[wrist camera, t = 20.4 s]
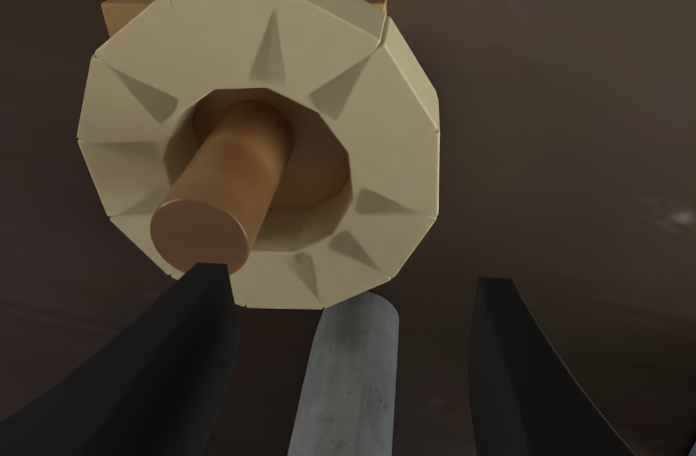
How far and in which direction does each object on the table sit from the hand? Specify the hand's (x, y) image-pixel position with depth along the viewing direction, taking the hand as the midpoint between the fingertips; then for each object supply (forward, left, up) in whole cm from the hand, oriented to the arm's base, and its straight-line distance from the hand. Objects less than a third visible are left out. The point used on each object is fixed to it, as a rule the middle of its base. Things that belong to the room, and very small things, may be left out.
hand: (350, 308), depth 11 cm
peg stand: (0, +4, -8) cm, 9 cm away
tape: (0, +3, -7) cm, 8 cm away
